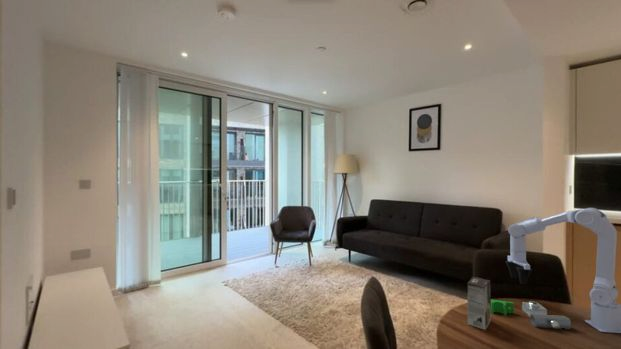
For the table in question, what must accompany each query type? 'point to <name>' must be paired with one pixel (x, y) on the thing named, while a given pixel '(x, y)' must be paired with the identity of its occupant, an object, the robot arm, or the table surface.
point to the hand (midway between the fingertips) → (518, 280)
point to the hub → (533, 308)
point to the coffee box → (479, 302)
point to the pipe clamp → (502, 306)
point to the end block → (550, 321)
